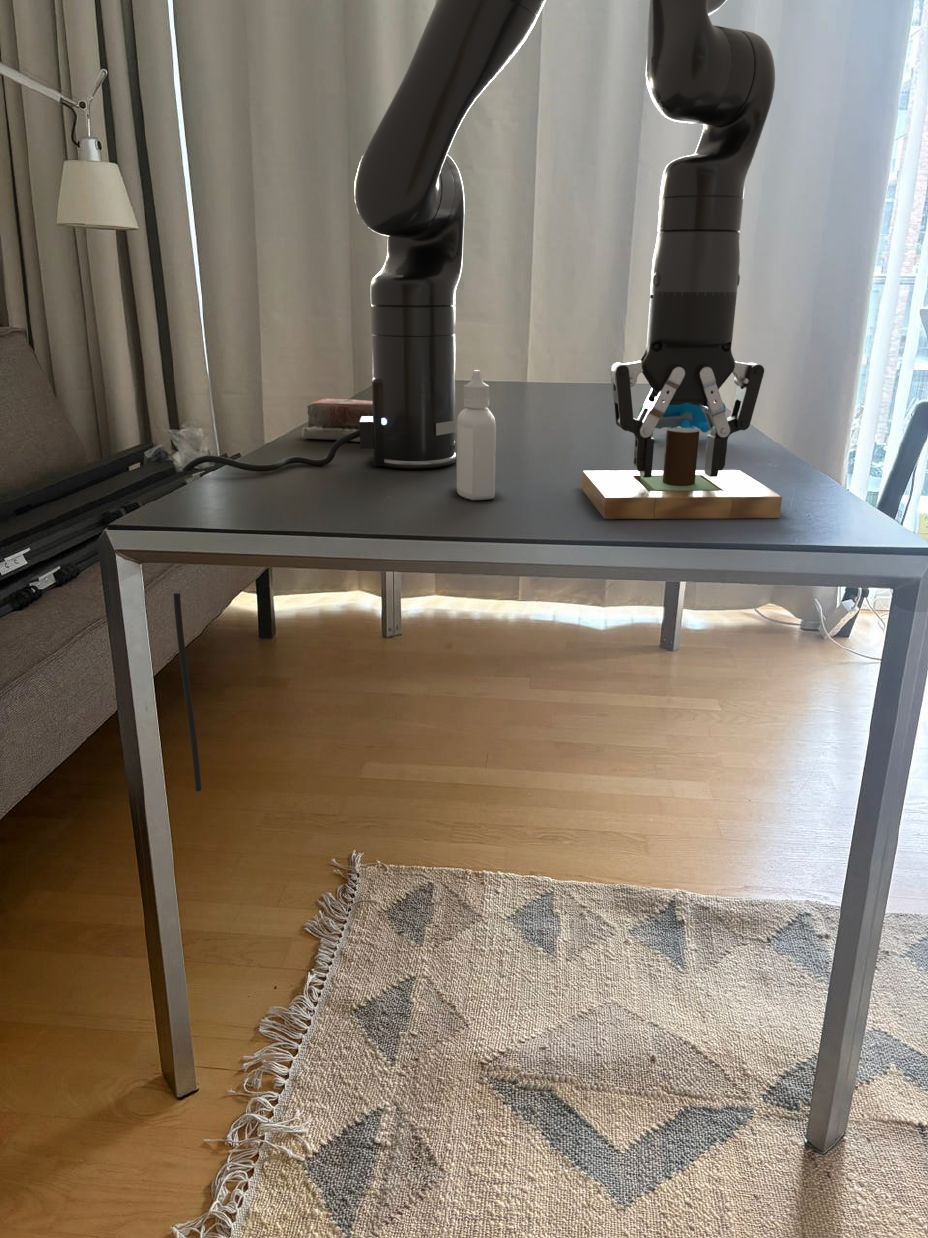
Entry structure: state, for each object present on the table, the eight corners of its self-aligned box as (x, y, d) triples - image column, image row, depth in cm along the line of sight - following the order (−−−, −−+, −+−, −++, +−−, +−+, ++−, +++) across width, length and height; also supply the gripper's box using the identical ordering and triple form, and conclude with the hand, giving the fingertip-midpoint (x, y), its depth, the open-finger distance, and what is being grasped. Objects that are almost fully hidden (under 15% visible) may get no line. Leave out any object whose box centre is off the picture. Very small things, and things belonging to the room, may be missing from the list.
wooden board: (604, 519, 84) (605, 497, 83) (582, 490, 95) (583, 470, 94) (779, 518, 84) (782, 496, 84) (737, 489, 96) (739, 469, 95)
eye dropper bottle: (447, 500, 90) (447, 372, 86) (459, 487, 95) (460, 367, 91) (491, 502, 89) (494, 373, 85) (502, 490, 95) (504, 368, 90)
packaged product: (298, 402, 120) (326, 393, 129) (300, 440, 122) (328, 428, 131) (432, 407, 116) (452, 397, 125) (432, 446, 118) (452, 434, 127)
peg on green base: (653, 510, 87) (659, 435, 84) (638, 496, 92) (644, 424, 90) (716, 510, 87) (724, 434, 84) (698, 495, 93) (705, 424, 90)
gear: (728, 424, 125) (722, 375, 117) (727, 460, 123) (721, 413, 114) (645, 431, 129) (634, 384, 120) (643, 466, 127) (631, 421, 118)
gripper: (758, 287, 87) (739, 467, 92) (605, 286, 86) (595, 468, 92) (789, 288, 80) (765, 483, 85) (622, 287, 79) (610, 484, 85)
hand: (677, 474), depth 89 cm, fingers open, 5 cm apart
